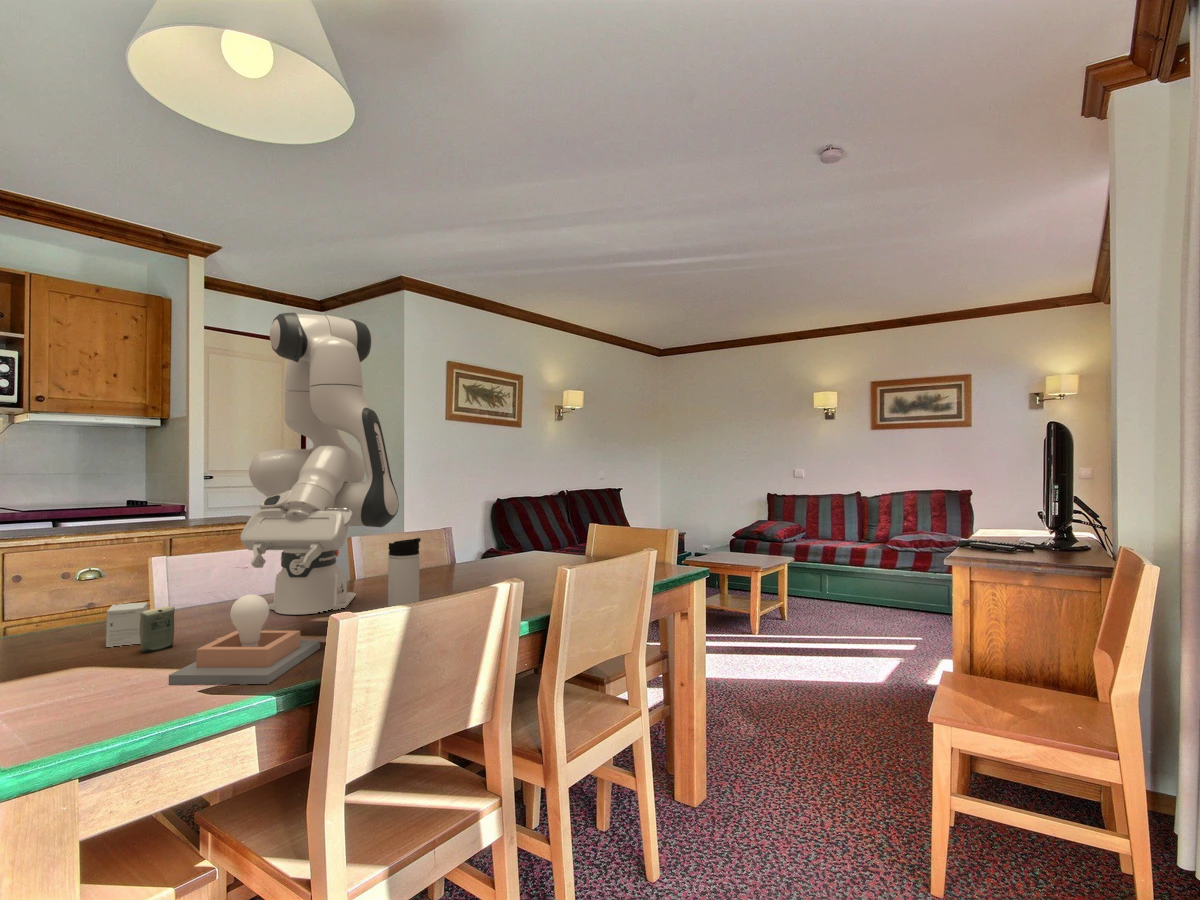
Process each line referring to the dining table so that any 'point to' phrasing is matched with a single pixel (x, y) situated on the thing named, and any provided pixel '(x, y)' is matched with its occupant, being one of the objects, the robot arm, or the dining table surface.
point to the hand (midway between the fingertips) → (279, 566)
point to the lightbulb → (249, 618)
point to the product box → (124, 624)
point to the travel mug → (403, 572)
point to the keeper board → (246, 659)
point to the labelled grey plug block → (156, 629)
